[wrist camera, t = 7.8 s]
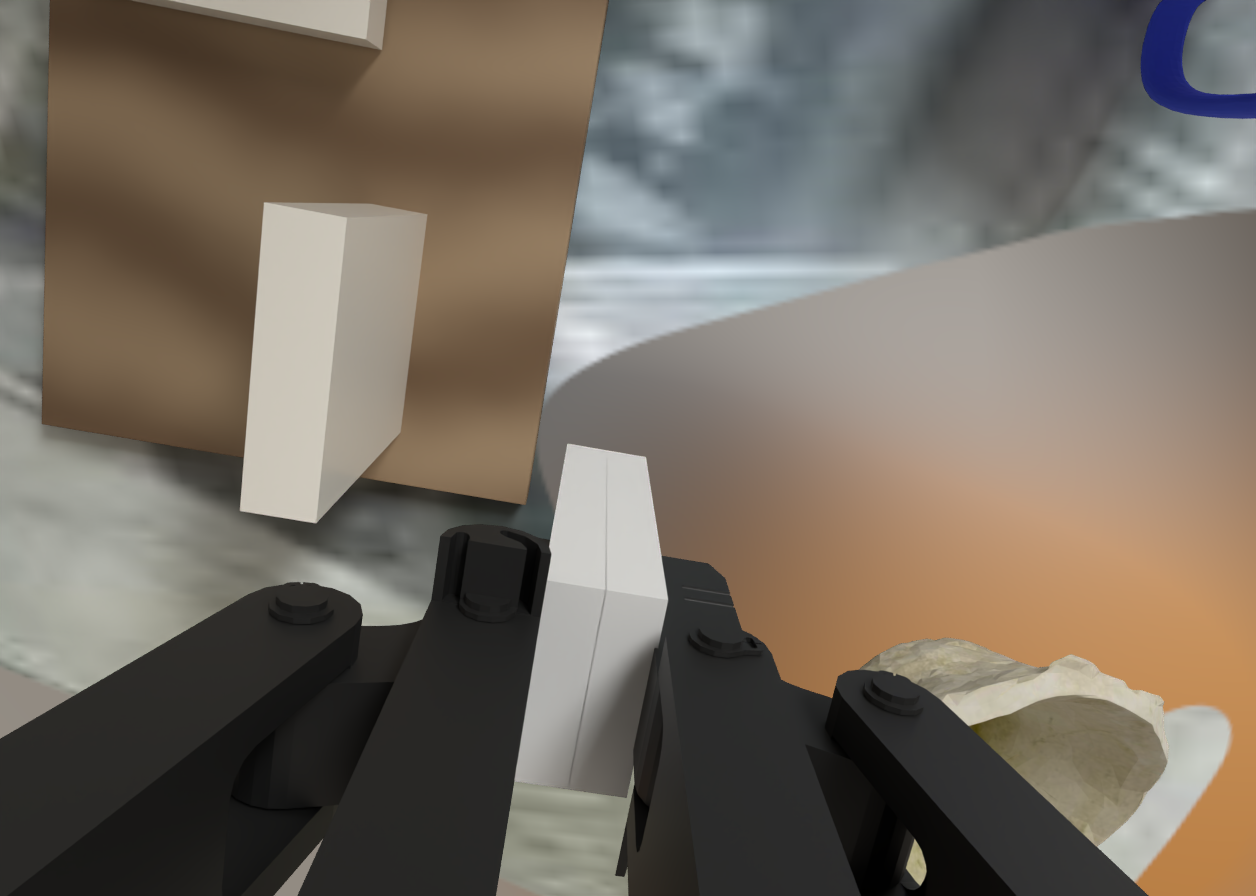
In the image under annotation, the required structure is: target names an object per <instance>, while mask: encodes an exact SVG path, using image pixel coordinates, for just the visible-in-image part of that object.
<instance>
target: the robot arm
mask: <svg viewBox="0 0 1256 896" xmlns="http://www.w3.org/2000/svg"><path fill="white" fill-rule="evenodd" d="M733 606H734V604H733V601H732V598H731V596H730V592H729V589H728V586H727V582H726V579H725V578H724V577H723V576H722V575H721V574H720V573H718V572H717V571H716V570H715V569H714V568H713V567H712V566H711V565H709V564H708V563H702V562H695V561H689V560H684V559H677V558H671V557H666V556H661V551H660V545H659V538H658V532H657V526H656V520H655V513H654V507H653V501H652V494H651V487H650V481H649V475H648V468H647V463H646V457H642V456H636V455H631V454H625V453H619V452H613V451H607V450H602V449H596V448H590V447H584V446H578V445H573V444H567V449H566V455H565V461H564V466H563V472H562V478H561V483H560V489H559V494H558V500H557V506H556V511H555V517H554V522H553V528H552V534H551V539H550V540H547V539H541V538H538V537H535V536H533V535H531V534H528V533H526V532H523V531H520V530H516V529H512V528H507V527H503V526H494V525H483V524H479V525H462V526H459V527H455V528H451V529H448V530H447V531H446V532H445V533H443V534H442V535H441V536H440V543H439V550H438V557H437V564H436V571H435V578H434V585H433V592H432V600H431V602H430V604H429V607H428V609H427V611H426V613H425V615H424V618H423V620H420V621H417V622H413V623H408V624H403V625H392V626H361V625H362V616H363V613H362V609H361V604H360V603H358V602H357V601H356V600H355V599H354V598H353V597H351V596H350V595H348V594H346V593H343V592H341V591H338V590H335V589H333V588H328V587H322V586H319V585H318V584H315V583H306V582H303V584H300V582H290V583H286V584H285V585H279V586H272V587H266V588H263V589H261V590H258V591H256V592H253V593H250V594H248V595H246V596H245V597H243V598H241V599H239V600H238V601H236V602H234V603H233V604H231V605H229V606H227V607H226V608H224V609H222V610H221V611H219V612H217V613H215V614H214V615H212V616H210V617H209V618H207V619H205V620H203V621H202V622H200V623H198V624H196V625H195V626H193V627H191V628H190V629H188V630H186V631H184V632H183V633H181V634H179V635H178V636H176V637H174V638H172V639H171V640H169V641H167V642H166V643H164V644H162V645H160V646H159V647H157V648H155V649H154V650H152V651H150V652H148V653H147V654H145V655H143V656H142V657H140V658H138V659H136V660H135V661H133V662H131V663H130V664H128V665H126V666H124V667H123V668H121V669H119V670H117V671H116V672H114V673H112V674H111V675H109V676H107V677H105V678H104V679H102V680H100V681H99V682H97V683H95V684H93V685H92V686H90V687H88V688H87V689H85V690H83V691H81V692H80V693H78V694H76V695H75V696H73V697H71V698H69V699H68V700H66V701H64V702H63V703H61V704H59V705H57V706H56V707H54V708H52V709H51V710H49V711H47V712H46V713H44V714H42V715H40V716H39V717H37V718H35V719H34V720H32V721H30V722H28V723H27V724H25V725H23V726H21V727H20V728H18V729H16V730H14V731H13V732H11V733H9V734H8V735H6V736H4V737H2V738H1V739H0V896H274V895H275V893H276V892H277V891H278V890H279V889H280V887H281V886H282V885H283V884H284V883H285V882H286V881H287V880H288V878H289V877H290V876H291V875H292V874H293V873H294V871H295V870H296V869H297V868H298V867H299V866H300V865H301V863H302V862H303V861H304V860H305V859H306V858H307V856H308V855H309V854H310V853H311V852H312V851H313V850H314V848H315V847H316V846H317V845H318V844H319V842H320V841H321V840H322V839H323V841H322V843H321V845H320V847H319V850H318V852H317V854H316V856H315V858H314V860H313V863H312V865H311V867H310V869H309V872H308V874H307V876H306V878H305V880H304V883H303V885H302V887H301V889H300V891H299V894H298V896H496V891H497V885H498V879H499V873H500V867H501V860H502V854H503V848H504V842H505V836H506V829H507V823H508V817H509V811H510V805H511V798H512V792H513V786H514V781H516V782H523V783H529V784H536V785H543V786H550V787H557V788H563V789H570V790H577V791H584V792H591V793H597V794H604V795H611V796H618V797H625V798H627V794H628V789H629V784H630V780H631V775H632V770H633V765H634V781H635V784H634V789H633V794H632V799H631V803H630V808H629V813H628V818H627V822H626V827H625V832H624V836H623V841H622V846H621V851H620V855H619V860H618V865H617V870H616V874H615V876H622V877H624V876H625V873H626V870H627V867H628V893H629V896H1148V895H1147V894H1146V893H1145V892H1144V891H1143V890H1142V889H1141V888H1140V887H1139V886H1138V885H1137V884H1136V883H1134V882H1133V881H1132V880H1131V879H1130V878H1129V877H1128V876H1127V875H1126V874H1125V873H1124V872H1123V871H1122V870H1121V869H1120V868H1119V867H1118V866H1116V865H1115V864H1114V863H1113V862H1112V861H1111V860H1110V859H1109V858H1108V857H1107V856H1106V855H1105V854H1104V853H1103V852H1102V851H1101V850H1099V849H1098V848H1097V847H1096V846H1095V845H1094V844H1093V843H1092V842H1091V841H1090V840H1089V839H1088V838H1087V837H1086V836H1085V835H1084V834H1083V833H1081V832H1080V831H1079V830H1078V829H1077V828H1076V827H1075V826H1074V825H1073V824H1072V823H1071V822H1070V821H1069V820H1068V819H1067V818H1066V817H1064V816H1063V815H1062V814H1061V813H1060V812H1059V811H1058V810H1057V809H1056V808H1055V807H1054V806H1053V805H1052V804H1051V803H1050V802H1049V801H1047V800H1046V799H1045V798H1044V797H1043V796H1042V795H1041V794H1040V793H1039V792H1038V791H1037V790H1036V789H1035V788H1034V787H1033V786H1032V785H1031V784H1029V783H1028V782H1027V781H1026V780H1025V779H1024V778H1023V777H1022V776H1021V775H1020V774H1019V773H1018V772H1017V771H1016V770H1015V769H1014V768H1012V767H1011V766H1010V765H1009V764H1008V763H1007V762H1006V761H1005V760H1004V759H1003V758H1002V757H1001V756H1000V755H999V754H998V753H997V752H996V751H994V750H993V749H992V748H991V747H990V746H989V745H988V744H987V743H986V742H985V741H984V740H983V739H982V738H981V737H980V736H979V735H977V734H976V733H975V732H974V731H973V730H972V729H971V728H970V727H969V726H968V725H967V724H966V723H965V722H964V721H963V720H962V719H961V718H959V717H958V716H957V715H956V714H955V713H954V712H953V711H952V710H951V709H950V708H949V707H948V706H947V705H946V704H945V703H944V702H942V701H941V700H940V699H939V698H937V697H936V696H935V695H933V694H932V693H931V692H929V691H928V690H927V689H925V688H923V687H921V686H919V685H917V684H915V683H913V682H911V681H910V679H908V678H907V677H904V676H901V675H898V674H896V676H894V675H893V673H892V672H888V671H883V670H880V671H871V670H854V671H847V672H845V673H843V674H842V675H840V676H838V679H837V683H836V686H835V690H834V694H833V698H830V697H827V696H824V695H821V694H818V693H814V692H811V691H808V690H805V689H802V688H800V687H797V686H794V685H792V684H789V683H787V682H785V681H783V680H781V678H780V675H779V673H778V670H777V667H776V665H775V662H774V659H773V656H772V654H771V652H770V651H769V650H768V648H767V647H766V645H765V644H764V643H763V642H761V641H760V640H758V638H756V637H754V636H753V635H751V634H749V633H747V632H745V631H742V629H741V626H740V623H739V620H738V617H737V613H736V610H735V608H733ZM914 840H916V842H917V843H918V845H919V847H920V849H921V851H922V854H923V857H924V860H925V864H926V875H925V878H924V880H923V882H922V884H921V886H920V885H919V884H918V883H917V882H916V881H915V880H914V878H913V877H912V876H911V874H910V873H909V872H908V870H907V869H906V866H907V863H908V860H909V856H910V853H911V850H912V846H913V843H914Z"/></svg>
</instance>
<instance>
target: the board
mask: <svg viewBox="0 0 1256 896" xmlns="http://www.w3.org/2000/svg"><path fill="white" fill-rule="evenodd" d="M608 2H609V0H387V7H386V17H385V26H384V36H383V45H382V50H378V49H373V48H368V47H363V46H358V45H353V44H348V43H343V42H338V41H333V40H328V39H323V38H318V37H313V36H308V35H303V34H298V33H293V32H288V31H282V30H277V29H272V28H267V27H262V26H257V25H252V24H247V23H242V22H237V21H232V20H227V19H222V18H217V17H212V16H207V15H202V14H197V13H192V12H187V11H182V10H177V9H171V8H166V7H161V6H156V5H151V4H146V3H141V2H136V1H131V0H50V21H49V74H48V127H47V180H46V233H45V286H44V339H43V392H42V424H45V425H51V426H57V427H63V428H69V429H75V430H81V431H87V432H93V433H99V434H105V435H111V436H117V437H123V438H129V439H135V440H141V441H146V442H152V443H158V444H164V445H170V446H176V447H182V448H188V449H194V450H200V451H206V452H212V453H218V454H224V455H230V456H236V457H242V458H244V452H245V440H246V427H247V414H248V401H249V388H250V376H251V363H252V350H253V337H254V325H255V312H256V299H257V286H258V273H259V261H260V248H261V235H262V222H263V210H264V202H282V203H358V204H375V205H380V206H385V207H391V208H396V209H401V210H407V211H412V212H418V213H423V214H427V222H426V230H425V238H424V246H423V254H422V262H421V270H420V278H419V287H418V295H417V303H416V311H415V319H414V327H413V335H412V343H411V352H410V360H409V368H408V376H407V384H406V392H405V400H404V408H403V417H402V425H401V432H400V434H399V435H398V436H397V437H396V438H395V439H394V440H393V441H392V442H391V443H390V444H389V445H388V446H387V448H386V449H385V450H384V451H383V452H382V453H381V454H380V455H379V456H378V457H377V458H376V459H375V460H374V462H373V463H372V464H371V465H370V466H369V467H368V468H367V469H366V470H365V471H364V472H363V473H362V474H361V476H360V477H362V478H368V479H374V480H380V481H385V482H391V483H397V484H403V485H409V486H415V487H421V488H427V489H433V490H439V491H445V492H451V493H457V494H463V495H469V496H475V497H481V498H487V499H493V500H499V501H505V502H511V503H517V504H523V505H525V504H526V501H527V497H528V493H529V486H530V480H531V474H532V468H533V462H534V456H535V450H536V444H537V437H538V431H539V425H540V419H541V413H542V407H543V401H544V394H545V388H546V382H547V376H548V370H549V364H550V358H551V352H552V345H553V339H554V333H555V327H556V321H557V315H558V309H559V303H560V296H561V290H562V284H563V278H564V272H565V266H566V260H567V253H568V247H569V241H570V235H571V229H572V223H573V217H574V211H575V204H576V198H577V192H578V186H579V180H580V174H581V168H582V162H583V155H584V149H585V143H586V137H587V131H588V125H589V119H590V113H591V106H592V100H593V94H594V88H595V82H596V76H597V70H598V63H599V57H600V51H601V45H602V39H603V33H604V27H605V21H606V14H607V8H608Z"/></svg>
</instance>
